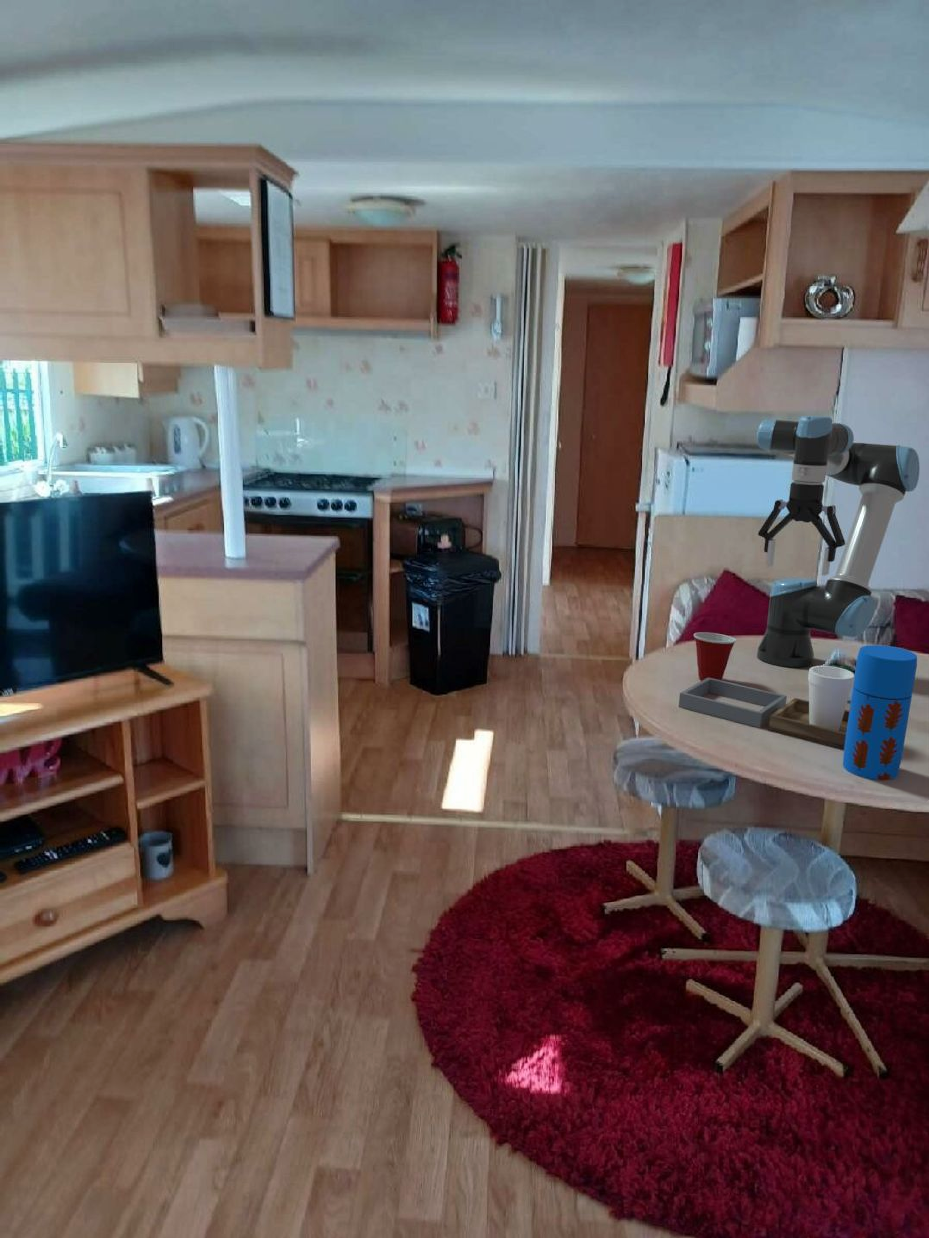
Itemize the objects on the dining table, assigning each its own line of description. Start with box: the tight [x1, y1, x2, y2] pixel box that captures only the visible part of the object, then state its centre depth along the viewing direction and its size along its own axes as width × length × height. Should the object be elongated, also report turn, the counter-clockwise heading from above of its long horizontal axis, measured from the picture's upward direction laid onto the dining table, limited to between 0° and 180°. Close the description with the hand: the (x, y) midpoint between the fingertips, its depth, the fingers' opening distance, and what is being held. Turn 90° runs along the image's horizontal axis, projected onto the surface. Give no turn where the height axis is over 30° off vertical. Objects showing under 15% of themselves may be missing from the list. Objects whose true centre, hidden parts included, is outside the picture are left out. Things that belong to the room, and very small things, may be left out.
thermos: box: [842, 644, 918, 781], centre depth 191 cm, size 11×11×25 cm
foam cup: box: [807, 665, 855, 731], centre depth 212 cm, size 10×9×13 cm
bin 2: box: [768, 697, 850, 751], centre depth 213 cm, size 16×20×4 cm
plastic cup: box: [693, 631, 737, 682], centre depth 246 cm, size 11×11×12 cm
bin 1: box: [678, 678, 788, 729], centre depth 226 cm, size 16×20×4 cm
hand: (796, 570), depth 230 cm, fingers open, 13 cm apart
